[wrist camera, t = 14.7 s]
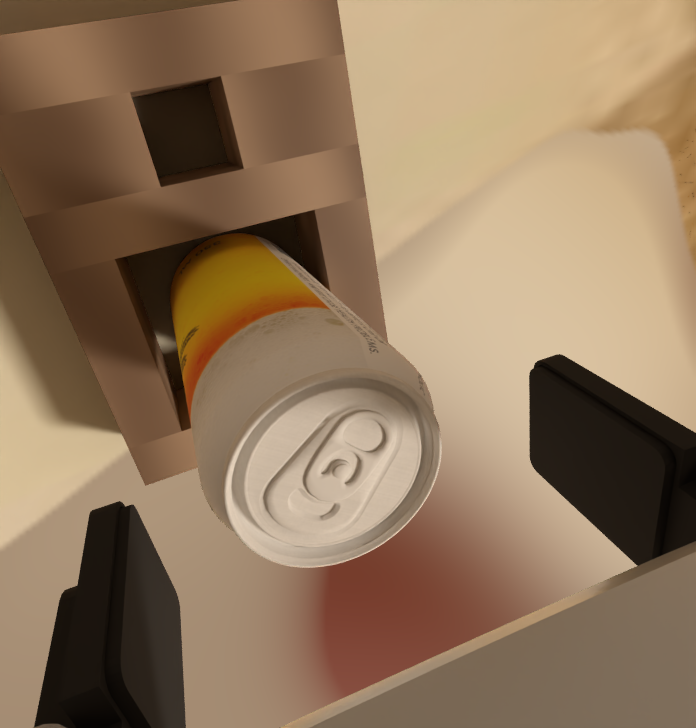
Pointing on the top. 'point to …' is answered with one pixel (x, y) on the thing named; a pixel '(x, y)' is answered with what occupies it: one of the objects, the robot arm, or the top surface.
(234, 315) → the beer can
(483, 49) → the top surface
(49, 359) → the top surface
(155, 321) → the top surface
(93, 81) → the brown wooden slotted block
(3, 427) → the top surface
